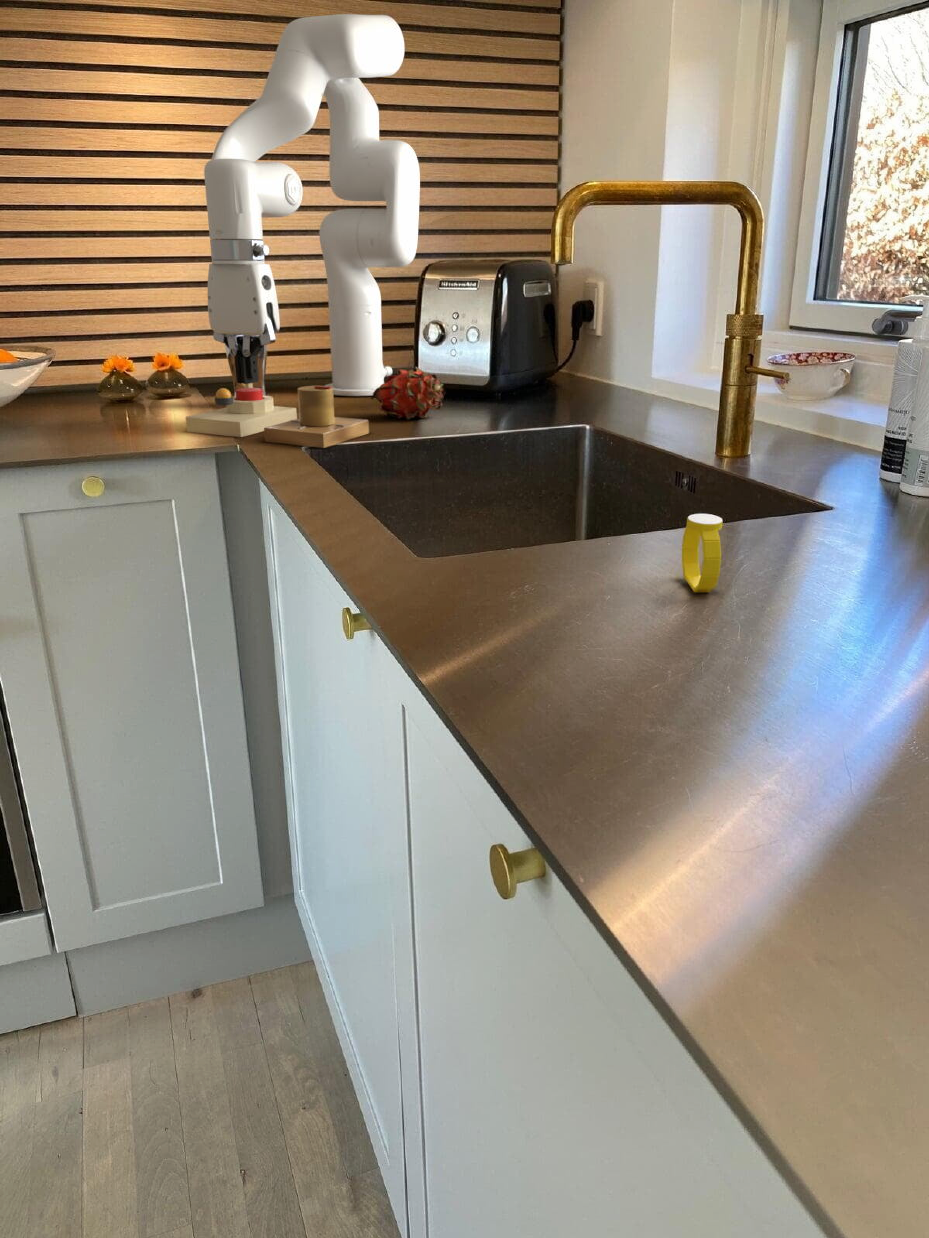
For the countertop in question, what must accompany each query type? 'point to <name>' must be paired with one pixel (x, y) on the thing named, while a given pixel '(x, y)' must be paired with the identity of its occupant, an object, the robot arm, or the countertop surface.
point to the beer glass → (261, 370)
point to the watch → (711, 551)
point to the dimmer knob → (316, 405)
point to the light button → (249, 394)
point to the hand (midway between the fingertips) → (247, 382)
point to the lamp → (223, 397)
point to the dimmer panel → (316, 432)
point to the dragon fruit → (410, 394)
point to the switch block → (241, 418)
